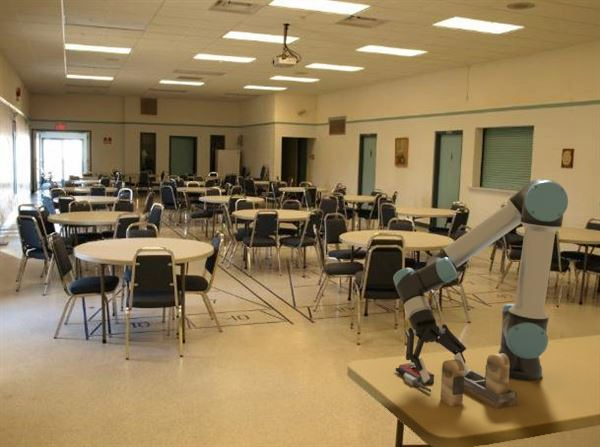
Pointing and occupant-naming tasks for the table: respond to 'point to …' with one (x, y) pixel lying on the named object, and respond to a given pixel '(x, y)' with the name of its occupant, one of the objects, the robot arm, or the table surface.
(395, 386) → the table surface
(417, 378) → the walkie-talkie
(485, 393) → the rail
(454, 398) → the block
